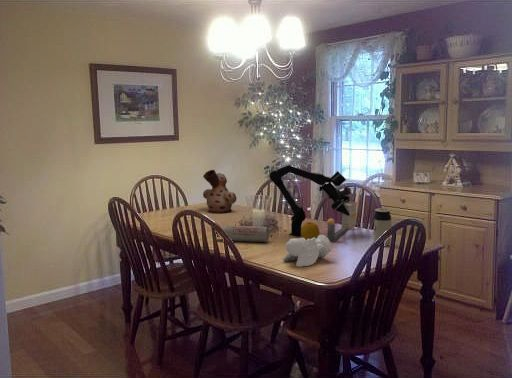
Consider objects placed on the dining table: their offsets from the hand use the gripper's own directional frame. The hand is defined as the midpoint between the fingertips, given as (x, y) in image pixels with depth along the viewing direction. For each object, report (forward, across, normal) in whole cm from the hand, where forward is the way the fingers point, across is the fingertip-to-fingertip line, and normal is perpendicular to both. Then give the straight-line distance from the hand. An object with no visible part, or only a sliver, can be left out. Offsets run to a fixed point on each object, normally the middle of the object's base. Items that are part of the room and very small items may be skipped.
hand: (351, 213), depth 262 cm
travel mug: (+22, -13, -5) cm, 26 cm away
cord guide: (+4, 0, +13) cm, 14 cm away
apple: (-1, -25, +19) cm, 31 cm away
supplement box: (+4, +1, +6) cm, 8 cm away
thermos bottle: (-20, -29, +32) cm, 47 cm away
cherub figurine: (+5, -54, +13) cm, 55 cm away
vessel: (-64, +34, +83) cm, 110 cm away
